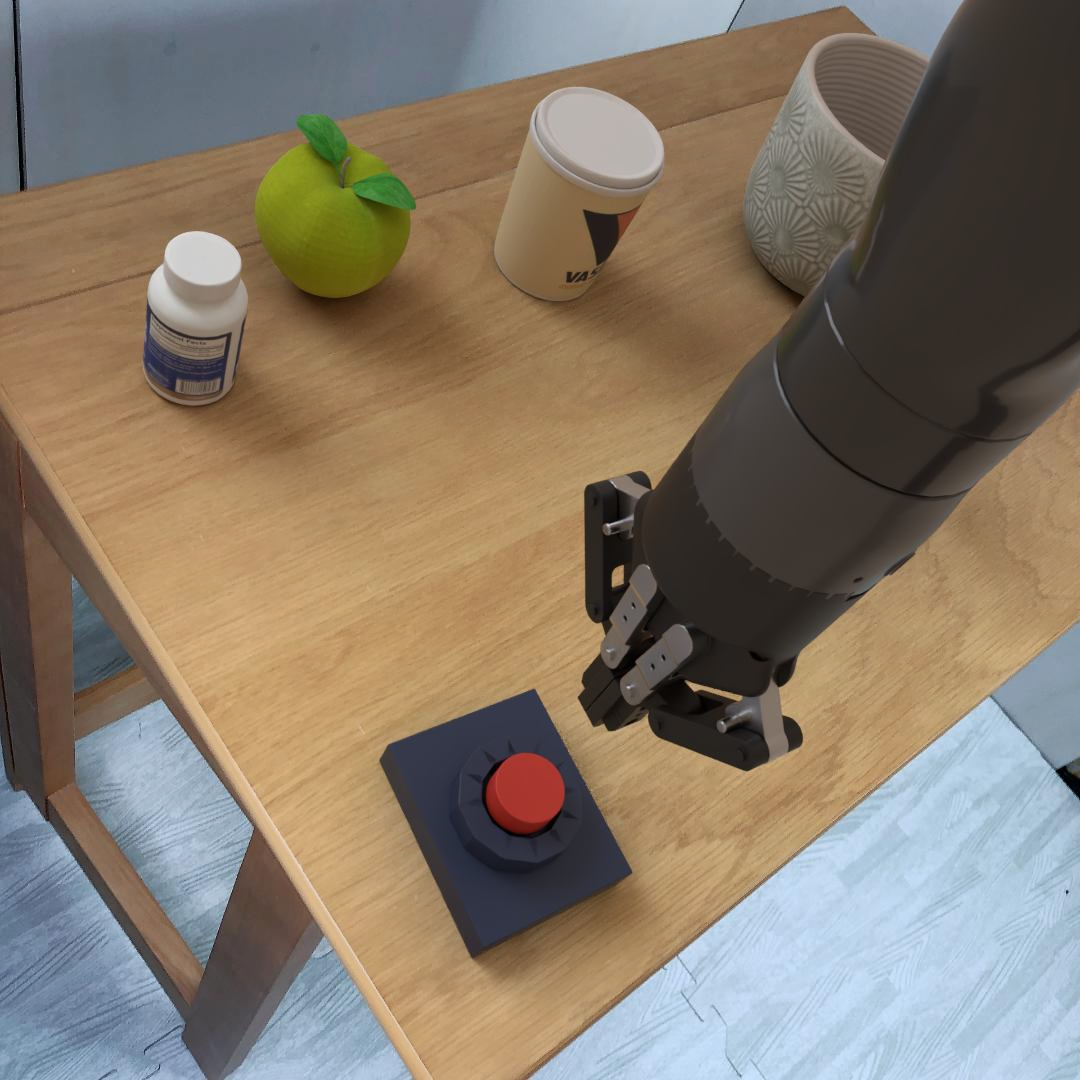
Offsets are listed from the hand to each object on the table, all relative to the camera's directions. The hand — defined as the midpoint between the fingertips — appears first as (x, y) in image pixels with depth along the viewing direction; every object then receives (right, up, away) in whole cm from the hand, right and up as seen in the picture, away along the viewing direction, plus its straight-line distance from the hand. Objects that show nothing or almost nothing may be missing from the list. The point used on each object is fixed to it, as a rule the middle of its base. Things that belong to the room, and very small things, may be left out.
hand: (603, 707), depth 50 cm
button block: (-5, -8, +11) cm, 14 cm away
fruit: (-18, +25, +27) cm, 41 cm away
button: (-4, -6, +8) cm, 10 cm away
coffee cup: (-3, +27, +35) cm, 44 cm away
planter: (+19, +30, +46) cm, 58 cm away
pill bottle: (-24, +17, +19) cm, 35 cm away
